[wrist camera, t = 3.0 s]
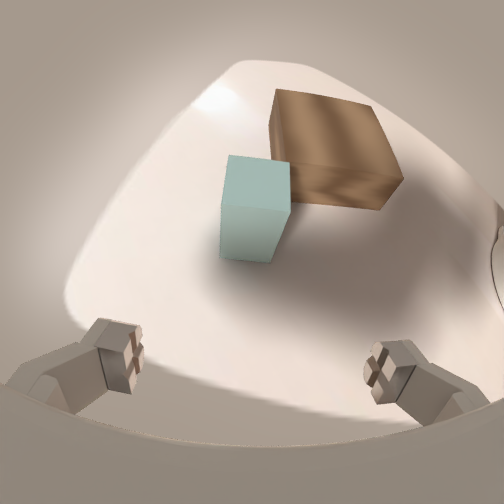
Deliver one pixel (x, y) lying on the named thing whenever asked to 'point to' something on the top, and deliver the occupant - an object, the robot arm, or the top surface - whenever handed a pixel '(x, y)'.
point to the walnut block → (332, 151)
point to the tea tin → (254, 208)
